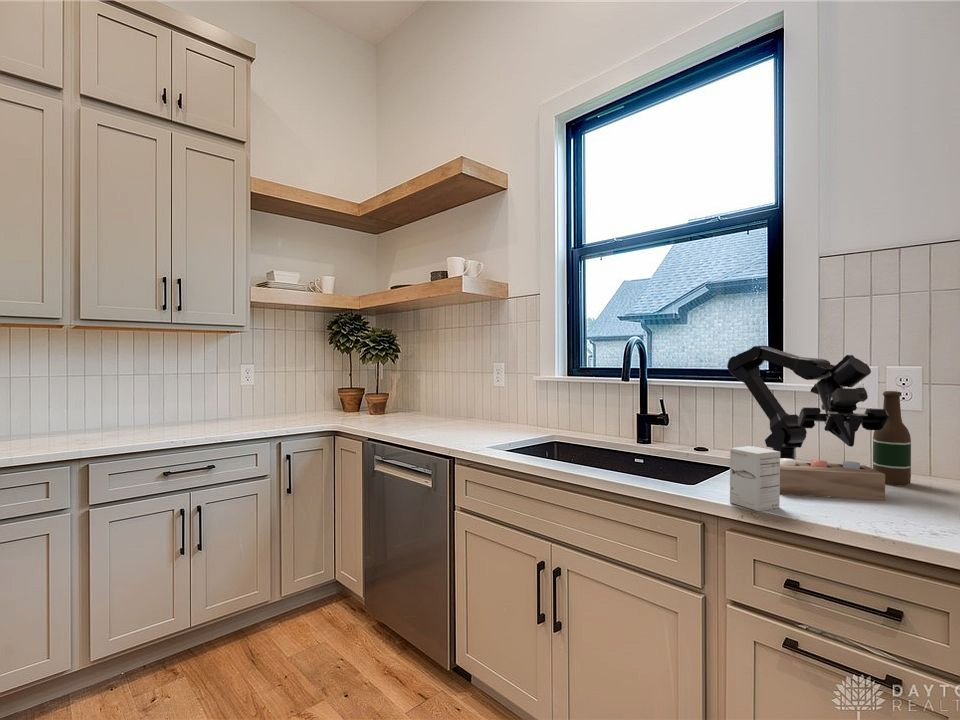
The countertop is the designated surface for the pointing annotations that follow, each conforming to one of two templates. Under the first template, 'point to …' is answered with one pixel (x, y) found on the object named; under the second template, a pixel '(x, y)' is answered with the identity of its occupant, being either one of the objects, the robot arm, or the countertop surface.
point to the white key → (787, 462)
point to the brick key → (818, 463)
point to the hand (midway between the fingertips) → (851, 445)
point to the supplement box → (755, 477)
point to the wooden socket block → (832, 481)
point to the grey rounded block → (851, 465)
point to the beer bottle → (893, 444)
